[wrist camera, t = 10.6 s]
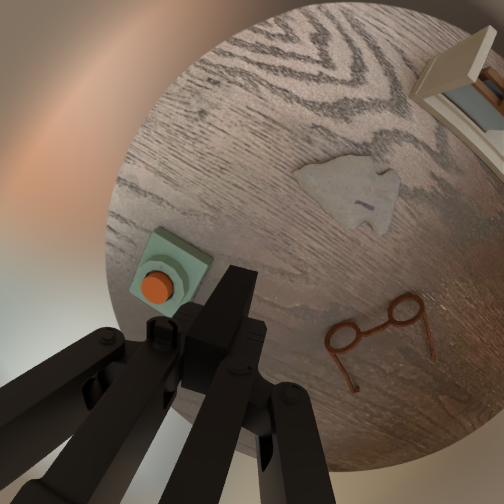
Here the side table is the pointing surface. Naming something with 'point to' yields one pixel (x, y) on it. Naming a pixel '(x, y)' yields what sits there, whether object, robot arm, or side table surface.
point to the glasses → (376, 330)
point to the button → (157, 287)
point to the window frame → (465, 98)
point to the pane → (493, 83)
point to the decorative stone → (352, 191)
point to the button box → (171, 269)
